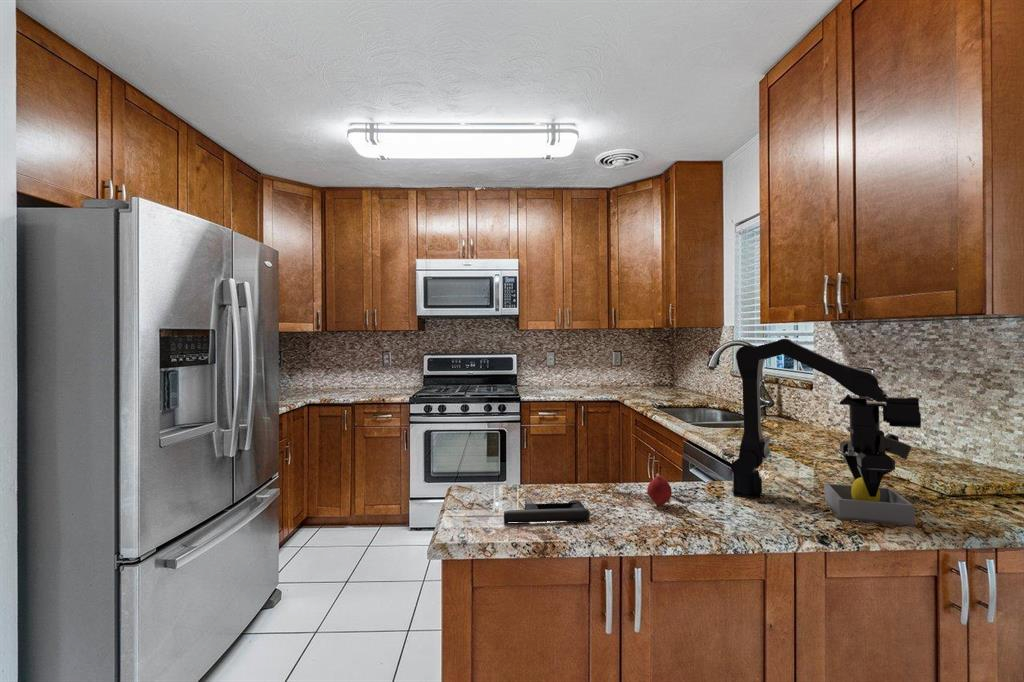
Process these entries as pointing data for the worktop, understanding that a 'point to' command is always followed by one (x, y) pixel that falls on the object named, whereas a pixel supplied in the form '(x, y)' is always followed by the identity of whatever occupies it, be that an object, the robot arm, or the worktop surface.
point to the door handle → (548, 512)
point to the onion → (659, 490)
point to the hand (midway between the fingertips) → (866, 490)
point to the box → (870, 506)
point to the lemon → (862, 491)
